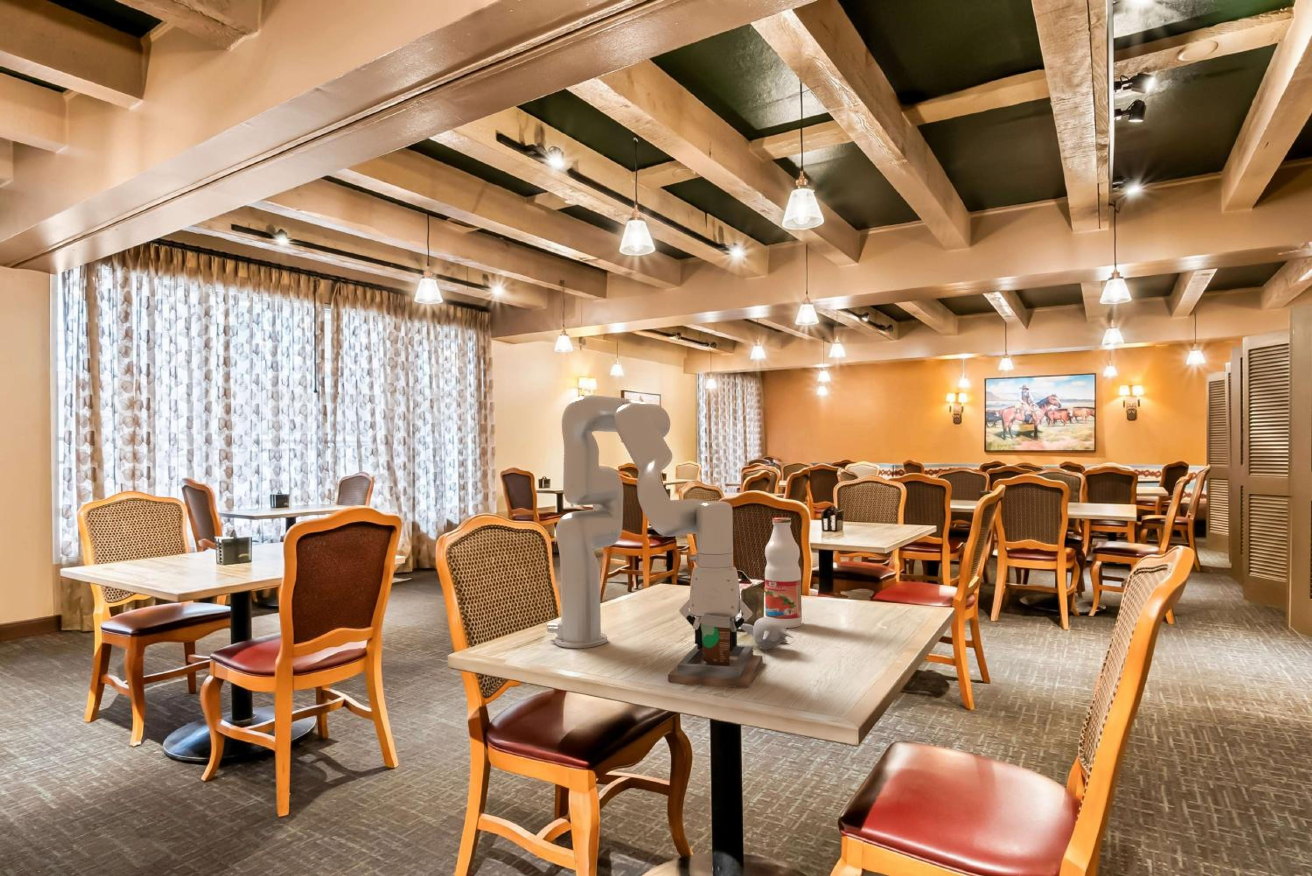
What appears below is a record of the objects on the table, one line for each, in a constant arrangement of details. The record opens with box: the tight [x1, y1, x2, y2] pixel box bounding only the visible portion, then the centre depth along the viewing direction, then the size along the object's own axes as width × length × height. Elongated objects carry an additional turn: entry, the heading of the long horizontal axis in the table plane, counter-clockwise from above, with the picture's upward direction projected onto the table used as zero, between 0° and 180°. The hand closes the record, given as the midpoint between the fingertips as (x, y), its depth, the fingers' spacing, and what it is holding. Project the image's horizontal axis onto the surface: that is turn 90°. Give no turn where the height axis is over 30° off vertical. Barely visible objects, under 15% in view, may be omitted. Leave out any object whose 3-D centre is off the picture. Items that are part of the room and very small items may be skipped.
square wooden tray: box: [667, 644, 763, 689], centre depth 150 cm, size 16×18×4 cm
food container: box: [698, 614, 730, 666], centre depth 151 cm, size 12×6×10 cm, turn 0°
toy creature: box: [739, 616, 794, 650], centre depth 169 cm, size 13×7×20 cm
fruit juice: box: [764, 517, 803, 629], centre depth 192 cm, size 9×9×28 cm
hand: (716, 648), depth 150 cm, fingers closed on food container, 5 cm apart
